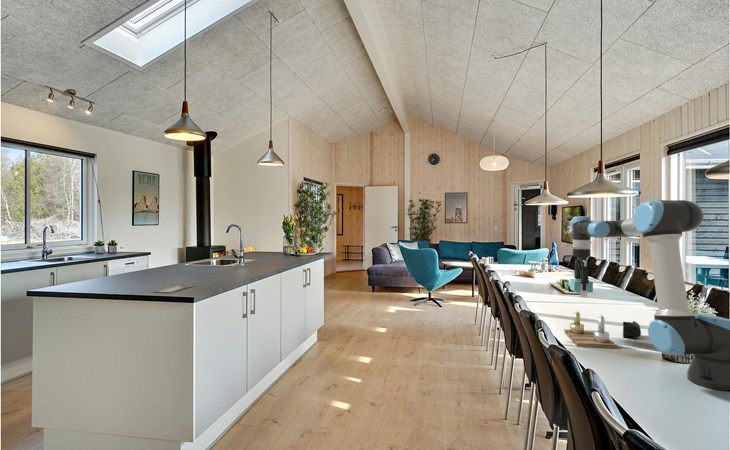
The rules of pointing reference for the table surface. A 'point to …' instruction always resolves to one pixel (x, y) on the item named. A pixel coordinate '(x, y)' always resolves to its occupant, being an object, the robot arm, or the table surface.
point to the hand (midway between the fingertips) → (581, 295)
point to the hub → (576, 325)
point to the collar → (576, 285)
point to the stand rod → (601, 332)
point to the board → (588, 340)
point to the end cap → (631, 330)
